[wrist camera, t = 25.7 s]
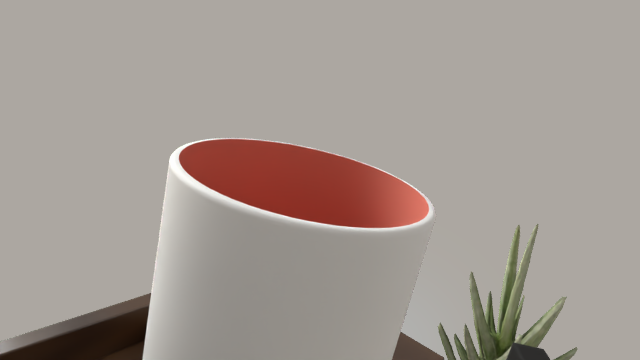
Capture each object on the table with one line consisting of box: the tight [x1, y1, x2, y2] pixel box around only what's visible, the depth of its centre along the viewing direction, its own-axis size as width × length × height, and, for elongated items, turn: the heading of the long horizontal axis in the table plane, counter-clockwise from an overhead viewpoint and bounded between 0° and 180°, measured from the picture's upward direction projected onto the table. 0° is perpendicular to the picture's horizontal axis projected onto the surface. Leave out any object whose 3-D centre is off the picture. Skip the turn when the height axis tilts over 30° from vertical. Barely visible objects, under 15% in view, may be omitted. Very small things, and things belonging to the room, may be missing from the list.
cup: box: [142, 138, 436, 360], centre depth 19 cm, size 10×10×10 cm
